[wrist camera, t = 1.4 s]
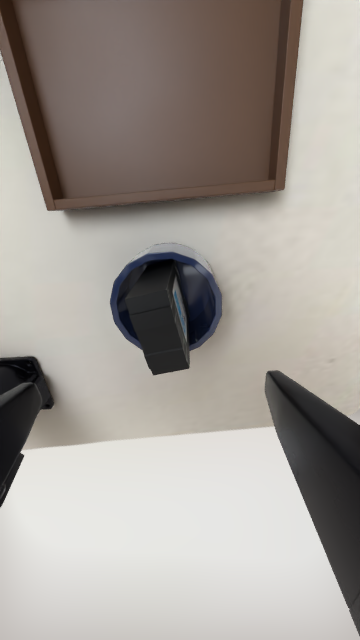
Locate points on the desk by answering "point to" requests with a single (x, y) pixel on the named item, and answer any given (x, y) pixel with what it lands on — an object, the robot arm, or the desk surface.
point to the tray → (152, 96)
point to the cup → (195, 287)
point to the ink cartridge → (161, 317)
